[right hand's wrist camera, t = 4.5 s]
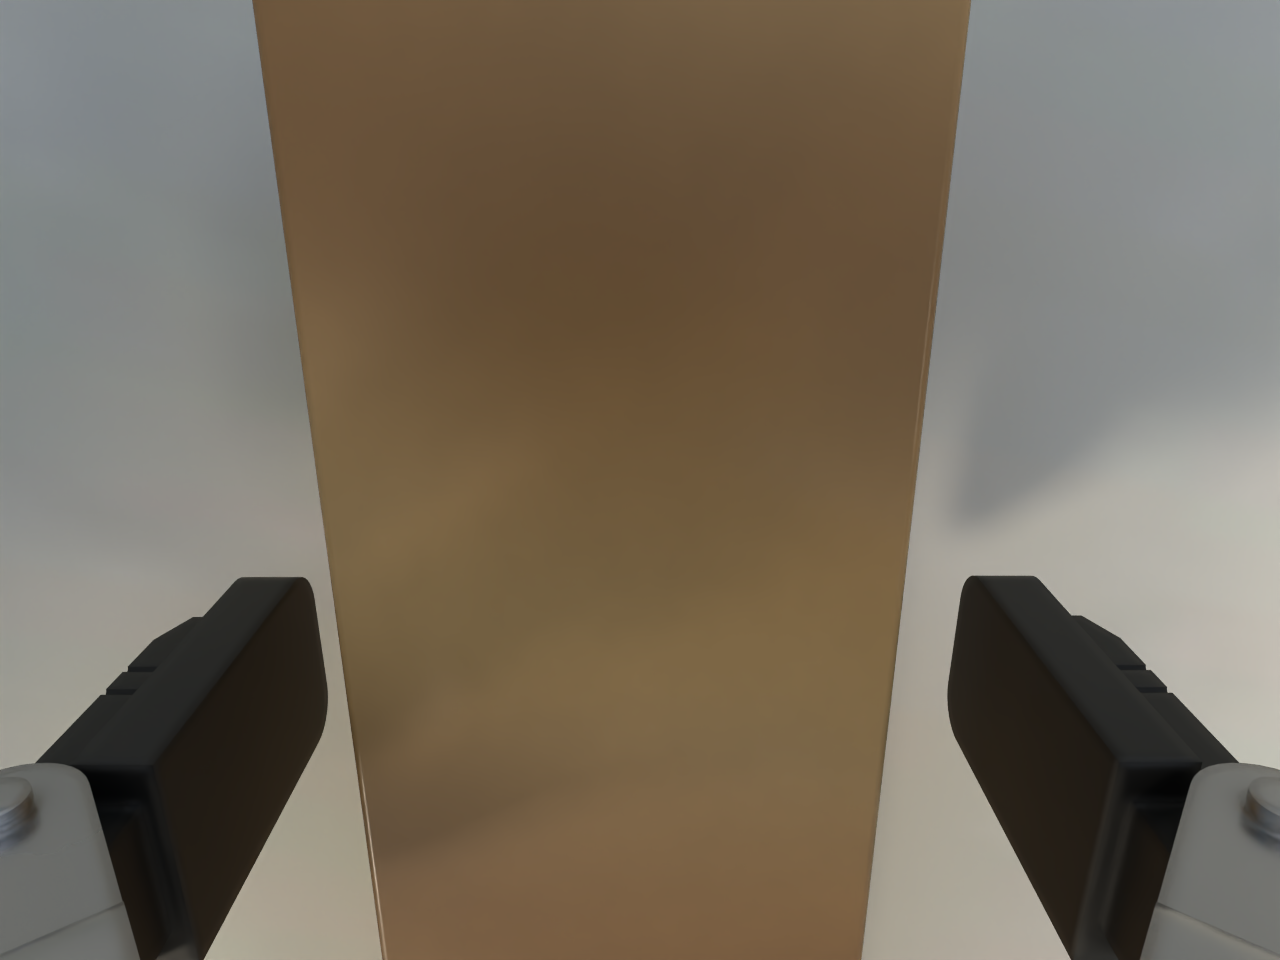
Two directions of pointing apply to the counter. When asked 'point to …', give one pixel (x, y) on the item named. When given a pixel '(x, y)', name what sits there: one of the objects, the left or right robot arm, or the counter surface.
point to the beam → (616, 447)
